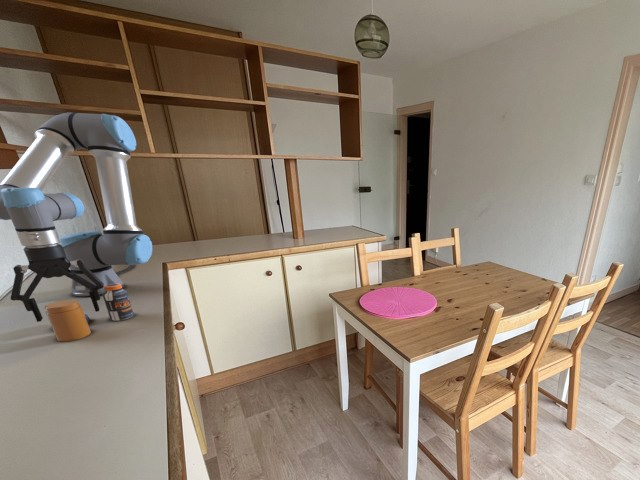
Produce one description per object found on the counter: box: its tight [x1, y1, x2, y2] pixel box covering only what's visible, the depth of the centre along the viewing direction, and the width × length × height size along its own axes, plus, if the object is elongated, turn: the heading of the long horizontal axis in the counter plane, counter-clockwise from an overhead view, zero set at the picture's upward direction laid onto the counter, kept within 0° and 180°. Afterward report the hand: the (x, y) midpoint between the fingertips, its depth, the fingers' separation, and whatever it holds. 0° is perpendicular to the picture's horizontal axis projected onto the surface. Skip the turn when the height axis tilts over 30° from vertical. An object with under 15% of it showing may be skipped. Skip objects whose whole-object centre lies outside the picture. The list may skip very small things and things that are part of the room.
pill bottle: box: [102, 283, 134, 322], centre depth 101 cm, size 6×6×11 cm
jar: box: [44, 298, 92, 342], centre depth 89 cm, size 7×7×10 cm
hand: (70, 314), depth 96 cm, fingers open, 12 cm apart
